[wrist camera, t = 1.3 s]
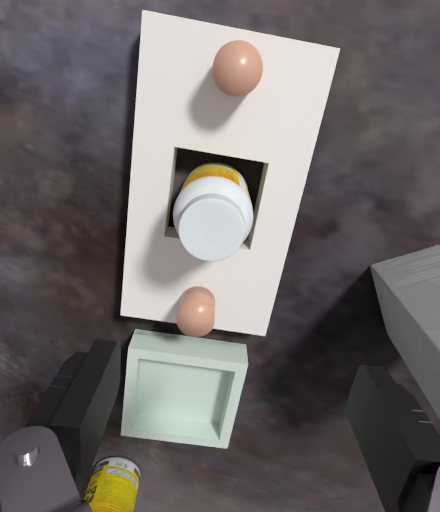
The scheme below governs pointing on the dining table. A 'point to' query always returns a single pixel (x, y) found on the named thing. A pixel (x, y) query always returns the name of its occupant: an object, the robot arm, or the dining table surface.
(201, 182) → the supplement bottle
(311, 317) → the dining table surface
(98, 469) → the supplement bottle
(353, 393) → the robot arm
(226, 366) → the tray
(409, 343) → the skincare box
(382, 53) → the dining table surface
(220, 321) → the socket holder
